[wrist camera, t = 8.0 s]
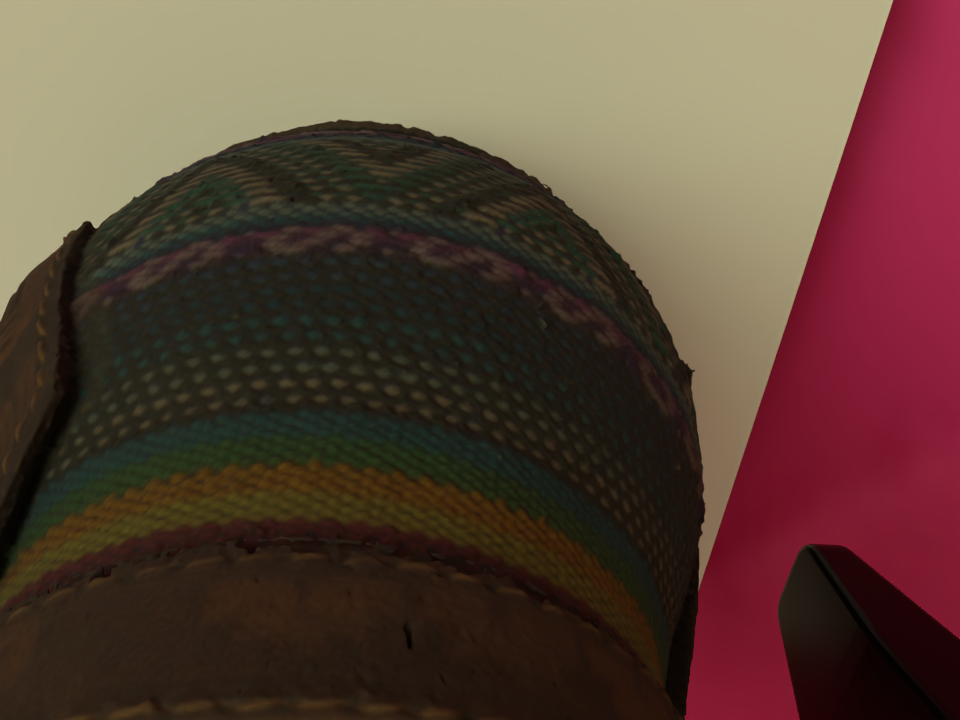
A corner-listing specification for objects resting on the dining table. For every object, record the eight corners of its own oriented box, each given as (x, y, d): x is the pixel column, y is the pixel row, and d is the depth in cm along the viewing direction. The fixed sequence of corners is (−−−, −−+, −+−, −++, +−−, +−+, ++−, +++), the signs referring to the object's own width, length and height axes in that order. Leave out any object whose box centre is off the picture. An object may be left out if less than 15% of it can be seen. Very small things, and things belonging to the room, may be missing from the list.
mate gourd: (726, 119, 11) (1655, 1308, 3) (555, 562, 15) (709, 1580, 7) (93, -21, 10) (-1783, 1317, 1) (94, 501, 14) (-410, 1641, 6)
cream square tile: (674, 597, 17) (684, 631, 16) (40, 572, 16) (22, 609, 15) (880, -66, 11) (911, -55, 10) (-120, -178, 10) (-162, -175, 9)
